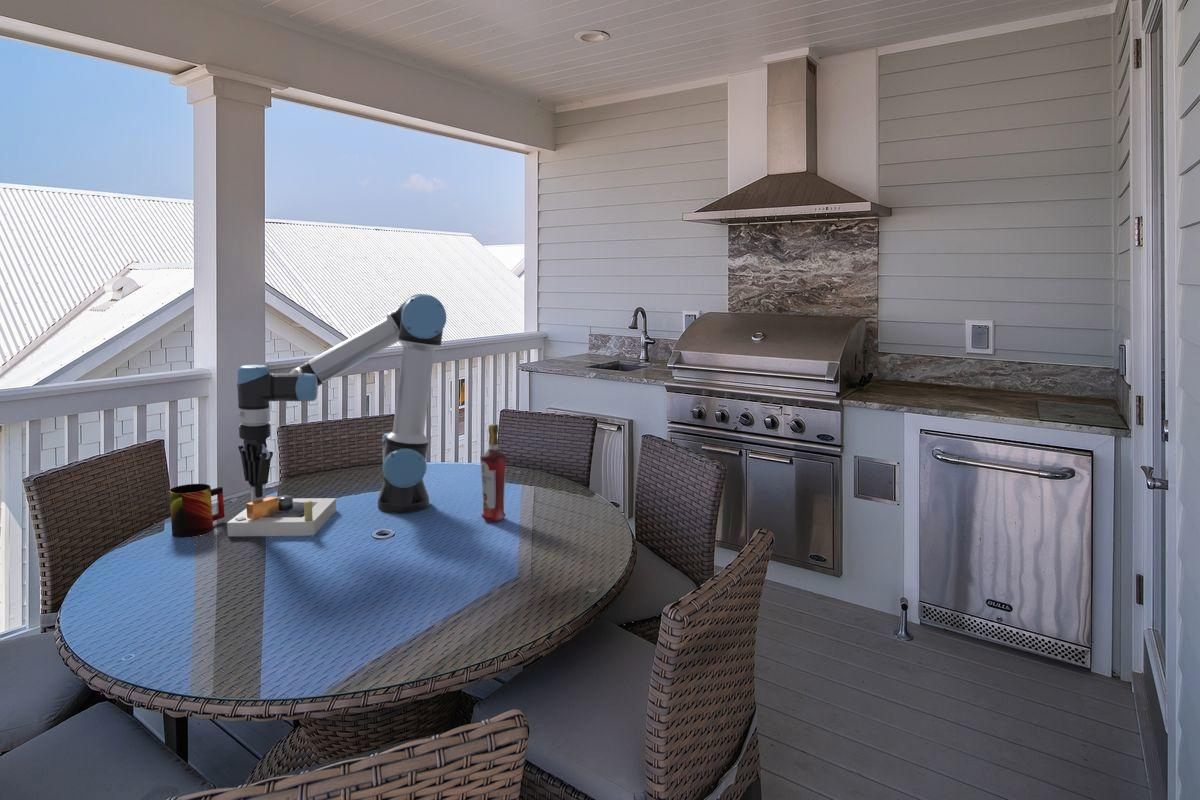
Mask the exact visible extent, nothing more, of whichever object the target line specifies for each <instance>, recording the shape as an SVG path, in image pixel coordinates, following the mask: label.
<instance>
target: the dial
mask: <svg viewBox="0 0 1200 800" xmlns="http://www.w3.org/2000/svg"><path fill="white" fill-rule="evenodd" d="M293 498H294V497H293V496H292V495H280V496H277V497H276V496H273V495H271V496H269V497H263V499H261V500H257V501H254V502H251V501H250V502H247V503H246V508H247V518H249V519H256V518H260V517H261V518H283V517H303V516H304V503H302V502H293Z"/></svg>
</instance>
